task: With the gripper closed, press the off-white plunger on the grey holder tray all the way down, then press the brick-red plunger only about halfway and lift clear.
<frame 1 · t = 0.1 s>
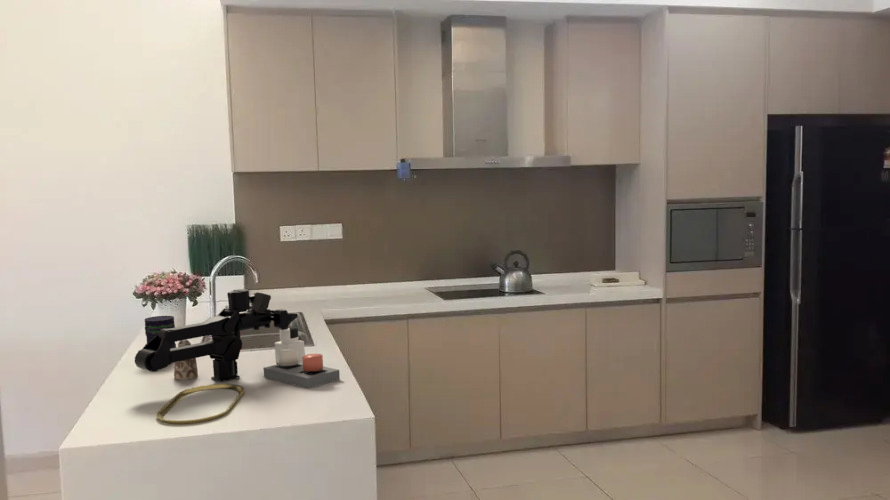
hand: (289, 313, 260), 17 cm above the counter, tool horizontal, fingers open, 9 cm apart
white button: (288, 357, 243), point 6 cm above the counter, slide at 0.0 cm
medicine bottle: (290, 363, 262), on the counter
grey holder tray: (301, 378, 240), on the counter
red button: (312, 362, 235), point 6 cm above the counter, slide at 0.0 cm
storage jar: (162, 361, 271), on the counter
figurine: (186, 377, 247), on the counter
brass oval bangle: (202, 407, 215), on the counter
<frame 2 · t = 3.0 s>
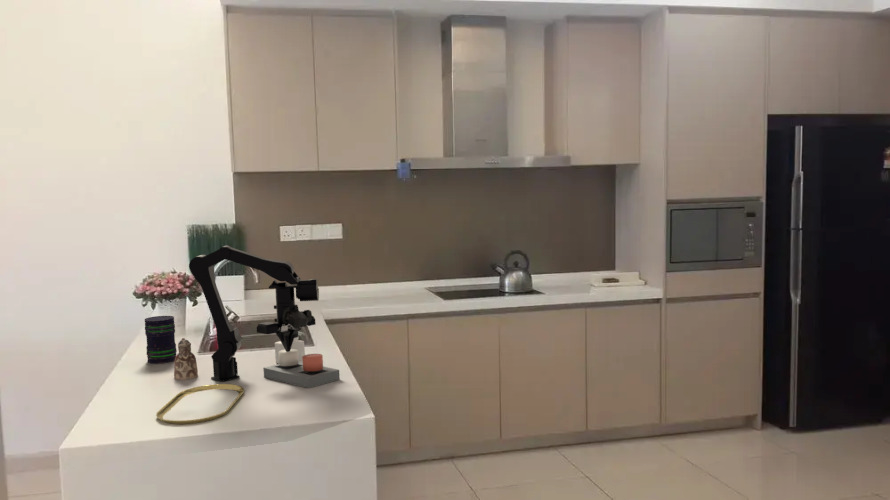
hand: (288, 351, 243), 8 cm above the counter, tool pointing down, fingers closed, pressing on white button
white button: (288, 357, 243), point 6 cm above the counter, slide at 0.1 cm, touching gripper
everything else where it was.
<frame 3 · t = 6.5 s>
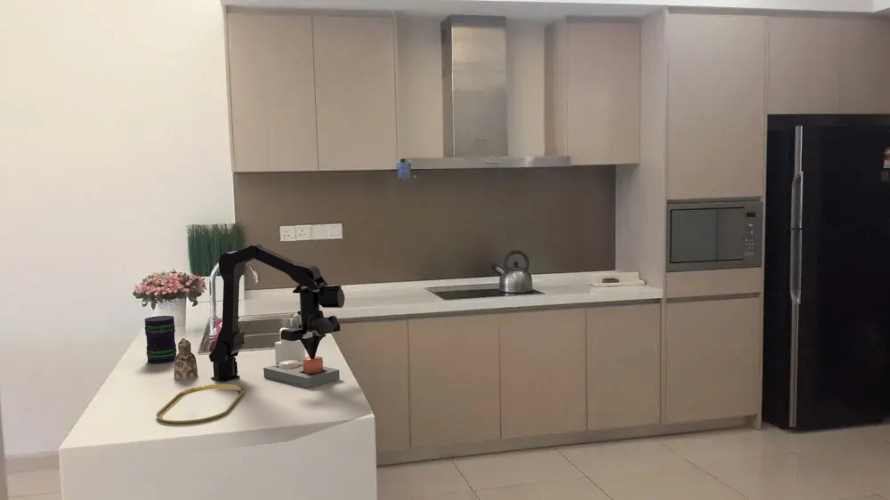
hand: (312, 358, 235), 7 cm above the counter, tool pointing down, fingers closed, pressing on red button
white button: (289, 368, 244), point 2 cm above the counter, slide at 3.7 cm
red button: (312, 365, 236), point 5 cm above the counter, slide at 0.8 cm, touching gripper
everything else where it was.
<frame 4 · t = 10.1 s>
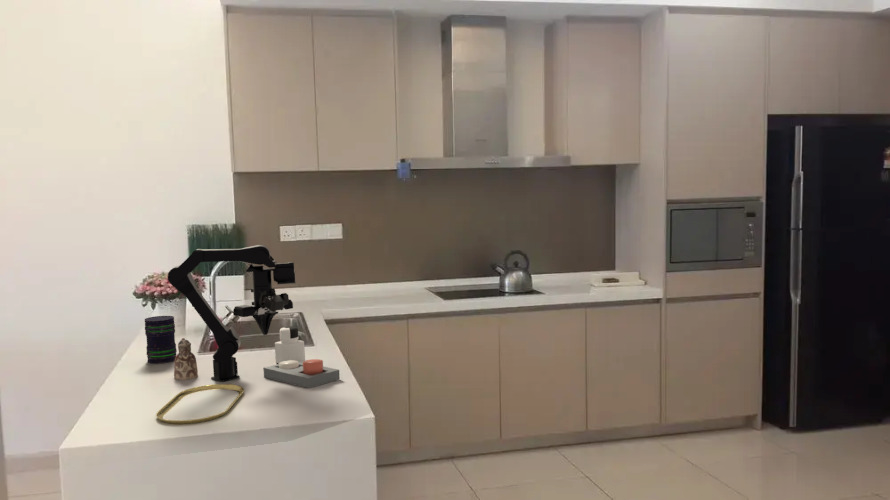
hand: (265, 334, 244), 13 cm above the counter, tool pointing down, fingers closed
red button: (313, 368, 236), point 4 cm above the counter, slide at 1.7 cm
everything else where it was.
at the end: white button slide at 3.7 cm; red button slide at 1.7 cm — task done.
